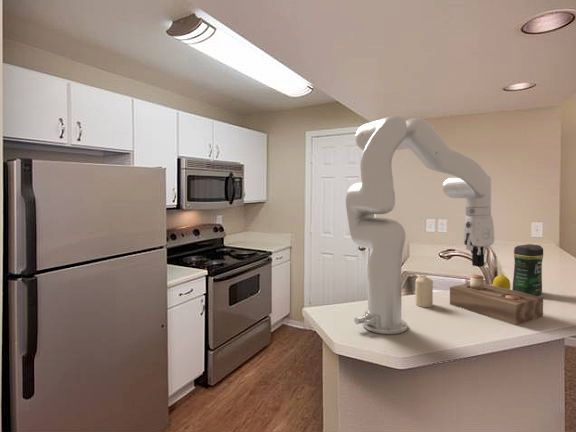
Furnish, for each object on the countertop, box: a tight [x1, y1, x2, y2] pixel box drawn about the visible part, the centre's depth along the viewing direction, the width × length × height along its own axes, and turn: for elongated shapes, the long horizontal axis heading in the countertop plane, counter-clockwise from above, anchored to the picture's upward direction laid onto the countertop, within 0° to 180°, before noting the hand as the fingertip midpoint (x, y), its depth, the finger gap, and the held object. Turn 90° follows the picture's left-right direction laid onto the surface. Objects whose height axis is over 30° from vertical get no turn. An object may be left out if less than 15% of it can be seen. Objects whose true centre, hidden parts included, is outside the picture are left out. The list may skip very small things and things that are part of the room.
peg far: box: [469, 274, 485, 290], centre depth 119 cm, size 4×4×6 cm
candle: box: [414, 275, 434, 308], centre depth 120 cm, size 6×6×10 cm
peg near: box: [505, 295, 521, 300], centre depth 108 cm, size 4×4×6 cm
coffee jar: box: [511, 243, 544, 296], centre depth 130 cm, size 10×8×19 cm
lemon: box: [492, 274, 511, 290], centre depth 128 cm, size 6×6×8 cm
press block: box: [449, 282, 544, 326], centre depth 113 cm, size 14×22×6 cm, turn 27°
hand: (478, 265), depth 118 cm, fingers closed
